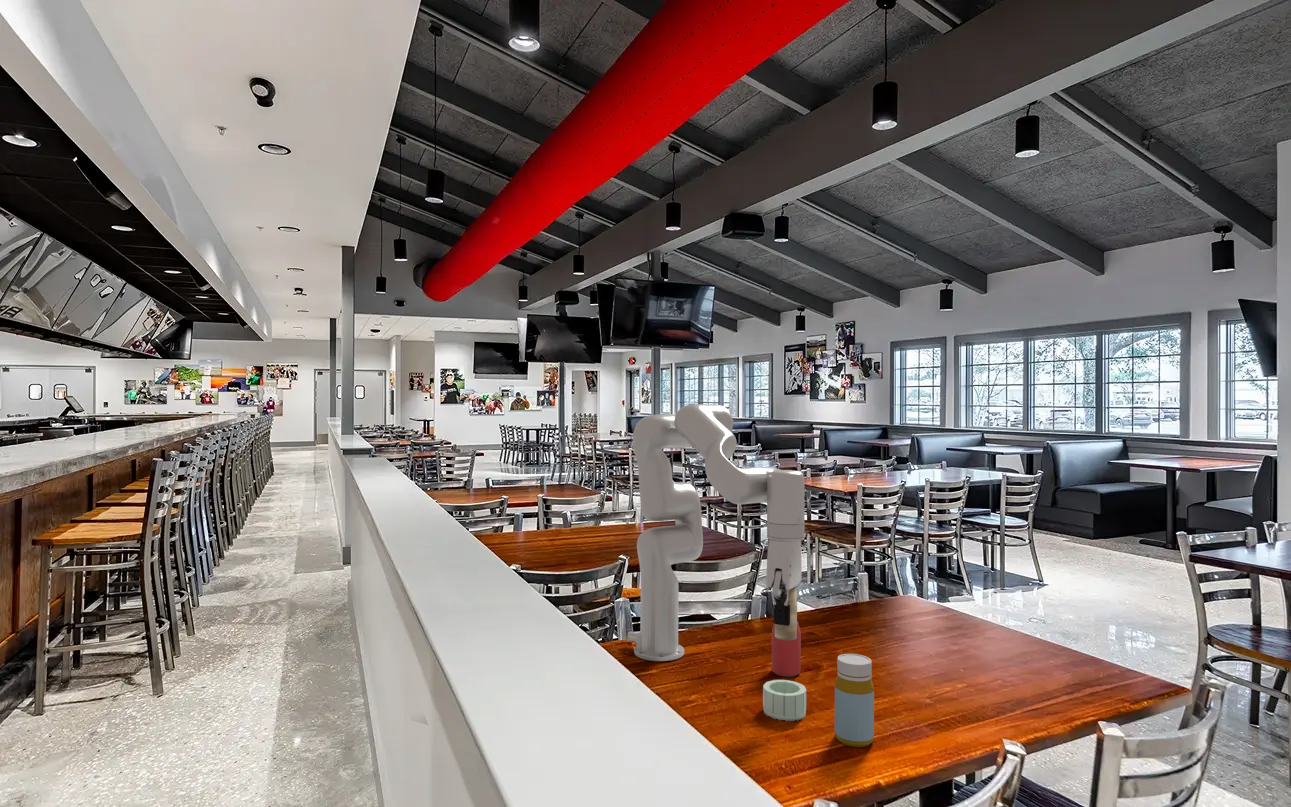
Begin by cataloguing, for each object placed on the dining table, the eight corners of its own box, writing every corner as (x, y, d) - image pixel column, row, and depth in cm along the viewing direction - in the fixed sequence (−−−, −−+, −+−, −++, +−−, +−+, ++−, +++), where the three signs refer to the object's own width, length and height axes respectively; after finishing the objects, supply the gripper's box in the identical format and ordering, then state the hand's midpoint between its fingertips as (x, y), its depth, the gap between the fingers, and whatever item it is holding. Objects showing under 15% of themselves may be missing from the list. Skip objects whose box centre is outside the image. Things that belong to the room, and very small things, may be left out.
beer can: (800, 679, 166) (800, 626, 167) (771, 676, 168) (771, 624, 168) (800, 669, 173) (800, 618, 173) (772, 666, 174) (772, 616, 174)
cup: (758, 715, 146) (758, 690, 146) (770, 701, 154) (770, 677, 154) (799, 724, 142) (799, 698, 142) (810, 708, 150) (810, 684, 150)
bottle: (829, 732, 139) (829, 653, 139) (865, 731, 140) (865, 652, 140) (842, 749, 132) (842, 666, 132) (879, 747, 133) (880, 665, 133)
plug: (771, 638, 147) (772, 588, 147) (778, 632, 151) (778, 584, 151) (793, 641, 145) (793, 591, 145) (799, 635, 149) (799, 586, 149)
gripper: (779, 524, 158) (779, 609, 157) (754, 535, 143) (754, 629, 142) (814, 527, 154) (814, 613, 154) (792, 539, 139) (792, 635, 139)
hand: (785, 620), depth 148 cm, fingers closed on plug, 4 cm apart
